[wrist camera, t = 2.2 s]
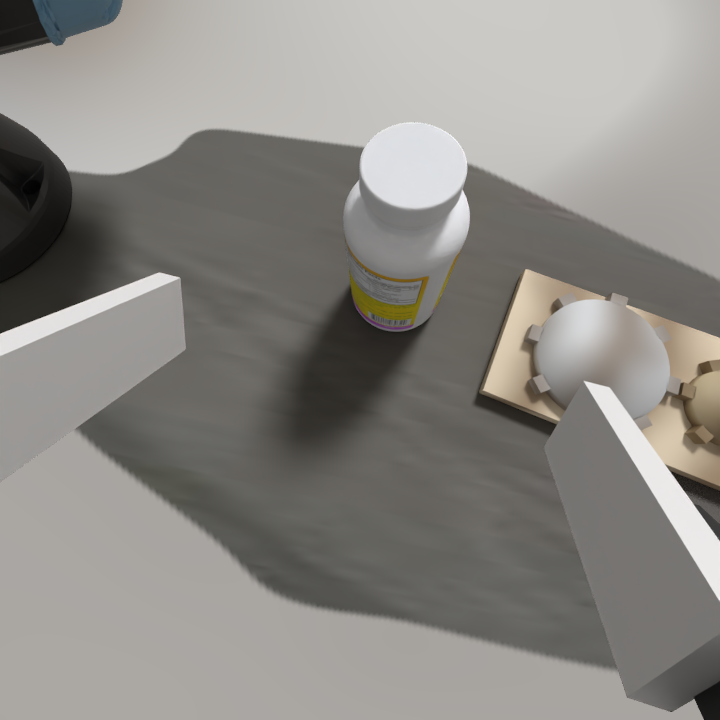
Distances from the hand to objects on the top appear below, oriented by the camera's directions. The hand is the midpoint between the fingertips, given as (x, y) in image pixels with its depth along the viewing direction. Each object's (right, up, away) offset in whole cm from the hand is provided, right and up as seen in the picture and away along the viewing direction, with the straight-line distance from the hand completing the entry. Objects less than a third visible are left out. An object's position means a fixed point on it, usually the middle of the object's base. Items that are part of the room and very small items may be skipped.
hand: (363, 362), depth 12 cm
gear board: (+19, -1, +14) cm, 24 cm away
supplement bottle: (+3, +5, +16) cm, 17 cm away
